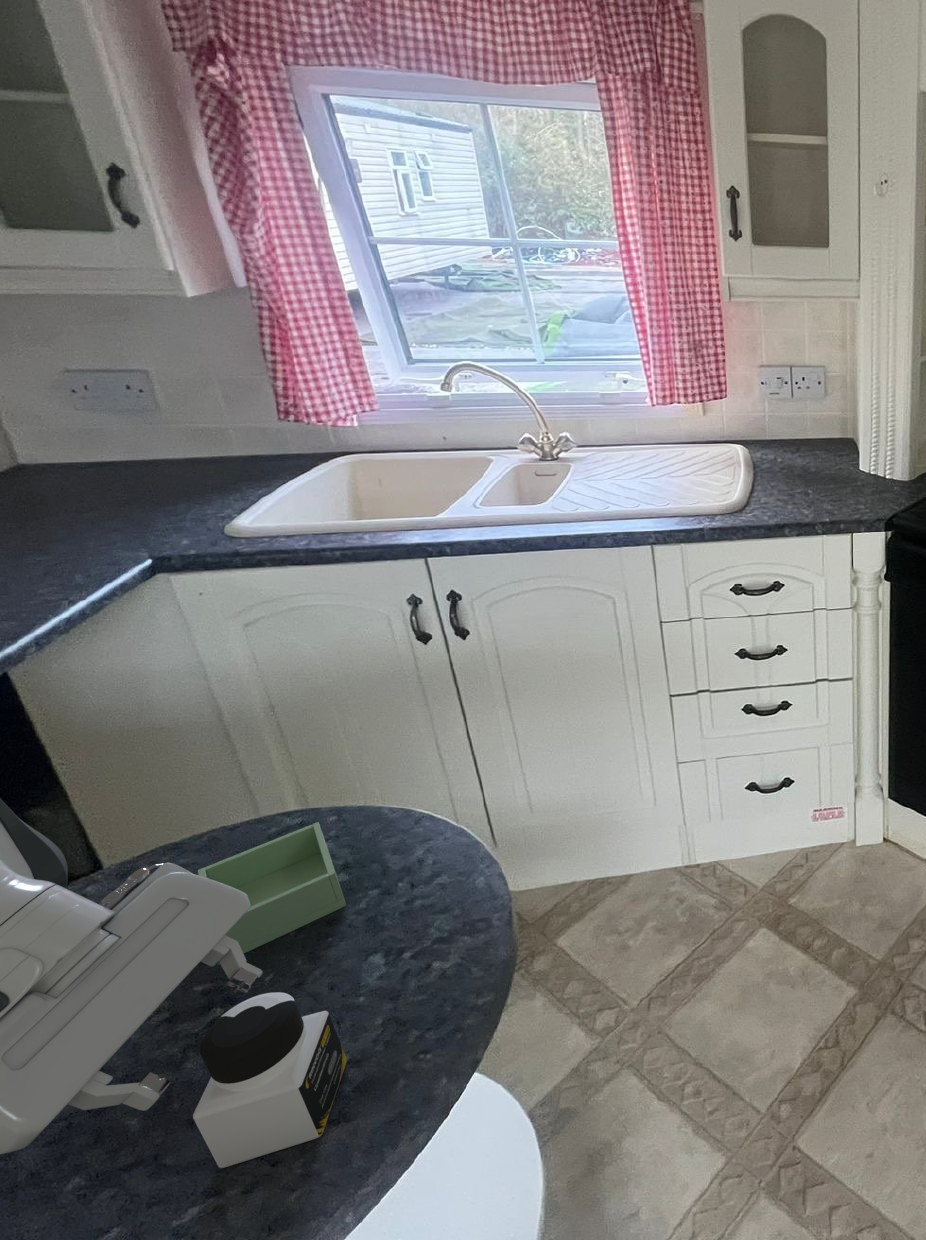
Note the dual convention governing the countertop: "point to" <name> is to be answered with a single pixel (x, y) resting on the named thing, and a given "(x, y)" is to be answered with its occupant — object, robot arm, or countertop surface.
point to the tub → (280, 885)
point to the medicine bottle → (267, 1078)
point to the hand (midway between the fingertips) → (209, 1036)
